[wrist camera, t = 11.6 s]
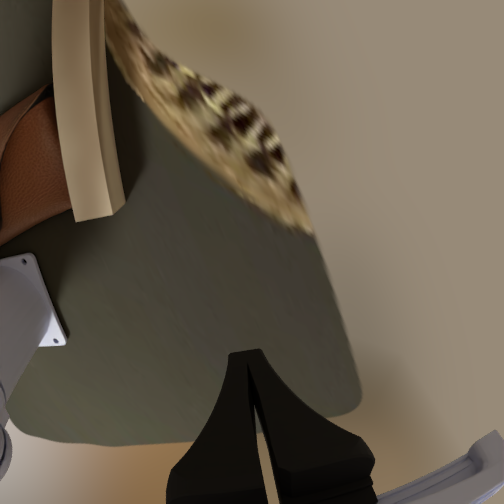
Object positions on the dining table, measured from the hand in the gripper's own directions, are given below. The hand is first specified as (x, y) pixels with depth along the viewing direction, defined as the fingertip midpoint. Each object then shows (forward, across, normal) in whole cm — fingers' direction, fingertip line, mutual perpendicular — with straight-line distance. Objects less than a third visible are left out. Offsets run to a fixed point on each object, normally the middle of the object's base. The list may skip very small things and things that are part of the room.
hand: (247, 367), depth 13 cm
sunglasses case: (+10, +17, -9) cm, 22 cm away
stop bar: (+9, +7, -15) cm, 19 cm away
